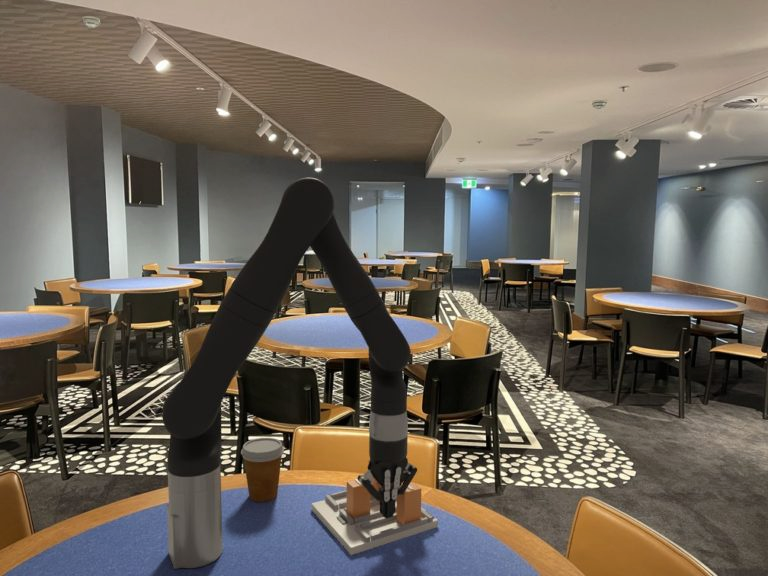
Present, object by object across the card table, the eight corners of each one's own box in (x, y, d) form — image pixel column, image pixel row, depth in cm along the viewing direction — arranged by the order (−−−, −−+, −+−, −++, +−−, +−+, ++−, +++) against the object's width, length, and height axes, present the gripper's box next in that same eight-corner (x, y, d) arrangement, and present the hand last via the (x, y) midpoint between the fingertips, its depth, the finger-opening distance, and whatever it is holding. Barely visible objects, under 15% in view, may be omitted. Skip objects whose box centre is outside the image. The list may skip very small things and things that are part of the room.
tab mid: (353, 520, 113) (353, 486, 112) (346, 513, 115) (346, 480, 115) (370, 515, 115) (370, 482, 114) (363, 508, 117) (363, 476, 117)
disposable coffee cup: (289, 486, 131) (288, 437, 129) (277, 507, 121) (277, 454, 120) (250, 484, 132) (249, 435, 130) (235, 504, 122) (234, 452, 121)
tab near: (404, 526, 111) (404, 491, 110) (396, 519, 113) (396, 485, 113) (420, 520, 113) (421, 487, 112) (412, 514, 115) (413, 481, 115)
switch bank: (351, 555, 104) (351, 542, 104) (311, 510, 120) (311, 499, 120) (437, 526, 114) (438, 515, 114) (390, 488, 130) (390, 478, 130)
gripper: (367, 445, 102) (367, 534, 104) (427, 432, 108) (425, 516, 110) (349, 432, 108) (349, 516, 110) (406, 420, 115) (405, 500, 117)
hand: (387, 516), depth 110 cm, fingers closed
